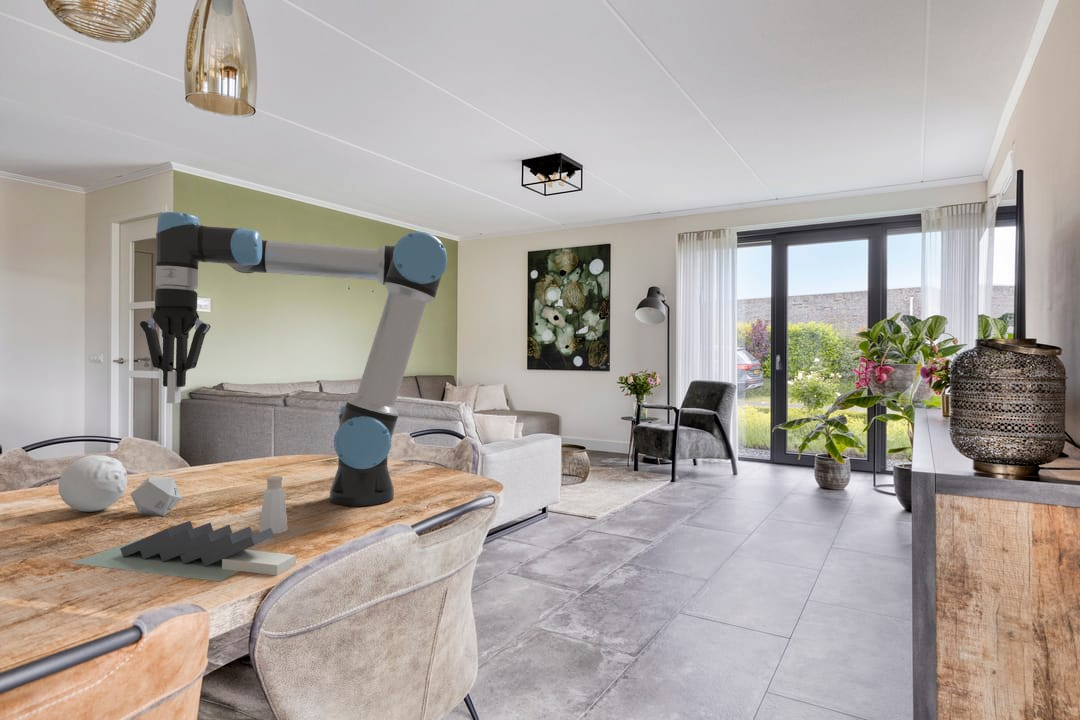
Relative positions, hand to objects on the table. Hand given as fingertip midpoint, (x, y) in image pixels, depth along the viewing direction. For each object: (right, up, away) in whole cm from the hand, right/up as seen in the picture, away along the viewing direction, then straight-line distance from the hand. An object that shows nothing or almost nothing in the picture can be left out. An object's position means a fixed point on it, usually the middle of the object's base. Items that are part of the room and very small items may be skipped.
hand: (173, 402), depth 126 cm
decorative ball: (-21, -24, +5) cm, 32 cm away
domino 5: (+22, -24, -25) cm, 41 cm away
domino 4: (+18, -24, -24) cm, 38 cm away
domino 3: (+14, -24, -23) cm, 36 cm away
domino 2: (+10, -24, -23) cm, 34 cm away
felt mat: (+15, -25, -24) cm, 37 cm away
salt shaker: (+23, -25, -6) cm, 35 cm away
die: (-6, -24, +4) cm, 26 cm away
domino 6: (+25, -24, -26) cm, 43 cm away
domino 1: (+6, -23, -22) cm, 33 cm away
